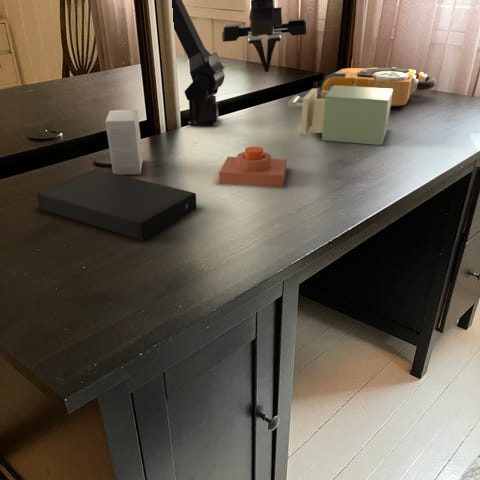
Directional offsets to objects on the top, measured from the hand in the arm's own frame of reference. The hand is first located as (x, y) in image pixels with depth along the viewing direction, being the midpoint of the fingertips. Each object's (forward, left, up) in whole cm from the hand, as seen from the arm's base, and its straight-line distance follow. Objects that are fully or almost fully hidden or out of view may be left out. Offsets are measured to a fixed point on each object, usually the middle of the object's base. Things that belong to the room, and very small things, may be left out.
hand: (266, 71), depth 124 cm
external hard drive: (-19, -52, -13) cm, 57 cm away
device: (+29, +33, -13) cm, 45 cm away
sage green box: (+22, -3, -13) cm, 25 cm away
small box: (-24, -32, -13) cm, 43 cm away
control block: (+2, -33, -13) cm, 36 cm away
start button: (+2, -33, -9) cm, 35 cm away
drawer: (+14, -2, -12) cm, 19 cm away
